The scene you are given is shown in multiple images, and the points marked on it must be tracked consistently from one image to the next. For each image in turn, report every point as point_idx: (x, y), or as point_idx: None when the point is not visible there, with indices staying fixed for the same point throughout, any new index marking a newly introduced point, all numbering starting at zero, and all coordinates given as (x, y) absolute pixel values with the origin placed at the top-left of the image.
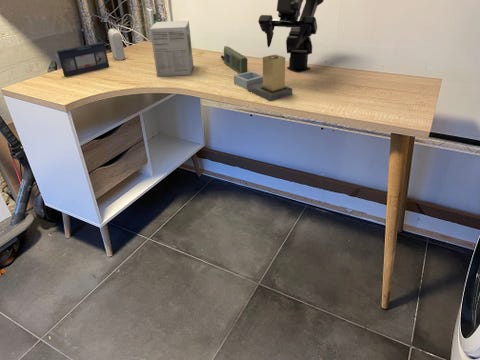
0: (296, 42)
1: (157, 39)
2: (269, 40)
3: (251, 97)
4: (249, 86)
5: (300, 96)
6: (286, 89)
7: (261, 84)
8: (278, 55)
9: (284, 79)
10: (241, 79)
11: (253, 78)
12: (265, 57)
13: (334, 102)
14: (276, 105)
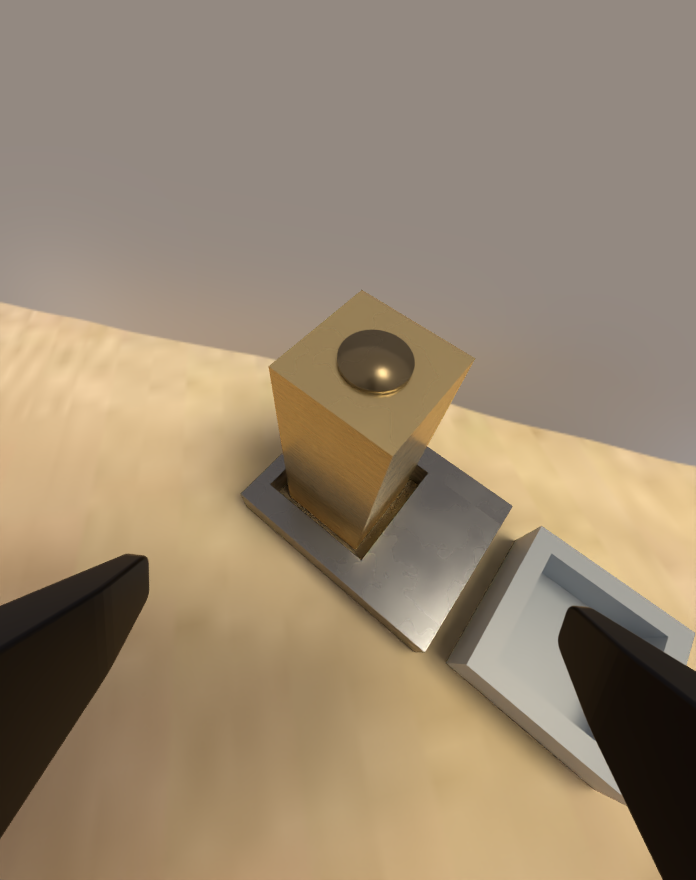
0: (81, 586)
1: None
2: (633, 664)
3: (442, 437)
4: (497, 496)
5: (199, 488)
6: (274, 474)
7: (442, 534)
8: (348, 421)
9: (285, 457)
10: (594, 565)
11: (525, 585)
12: (447, 351)
13: (26, 436)
14: None
